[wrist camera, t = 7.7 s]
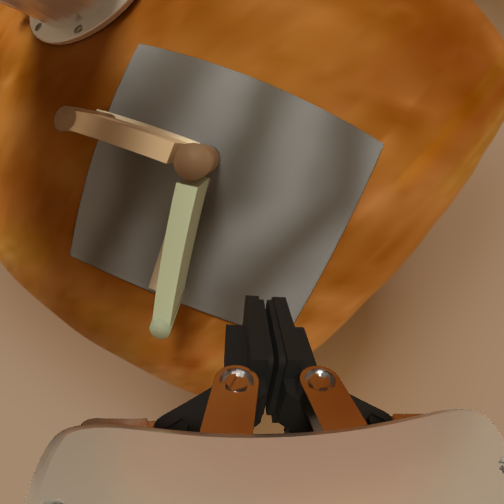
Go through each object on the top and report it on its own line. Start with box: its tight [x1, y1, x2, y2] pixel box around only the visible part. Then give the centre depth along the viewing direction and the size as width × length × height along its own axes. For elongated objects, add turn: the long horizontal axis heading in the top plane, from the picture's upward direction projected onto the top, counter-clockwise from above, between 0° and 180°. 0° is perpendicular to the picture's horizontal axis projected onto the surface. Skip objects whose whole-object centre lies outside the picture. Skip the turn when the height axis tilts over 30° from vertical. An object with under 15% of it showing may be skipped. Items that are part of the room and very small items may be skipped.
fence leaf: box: [149, 176, 209, 339], centre depth 20 cm, size 10×1×6 cm, turn 165°
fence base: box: [54, 44, 384, 325], centre depth 19 cm, size 22×19×7 cm
